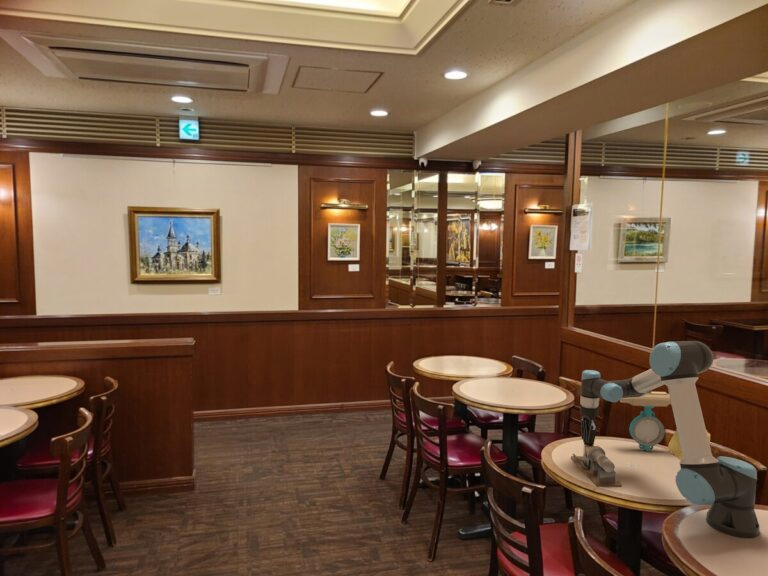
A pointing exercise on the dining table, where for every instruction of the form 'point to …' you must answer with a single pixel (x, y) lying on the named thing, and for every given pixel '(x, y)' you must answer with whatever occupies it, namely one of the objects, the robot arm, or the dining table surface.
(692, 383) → the robot arm
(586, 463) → the coupling
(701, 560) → the dining table surface
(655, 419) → the butterfly valve
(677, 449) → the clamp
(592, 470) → the pipe jig
